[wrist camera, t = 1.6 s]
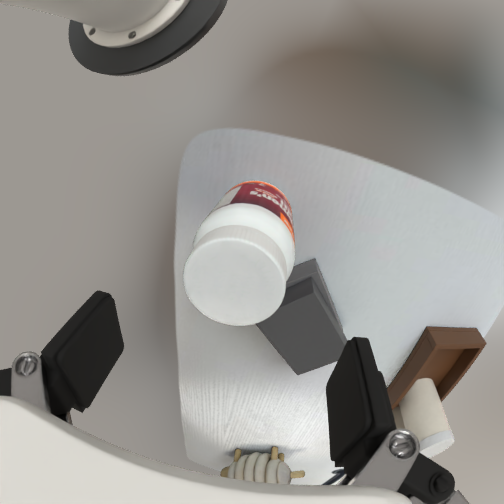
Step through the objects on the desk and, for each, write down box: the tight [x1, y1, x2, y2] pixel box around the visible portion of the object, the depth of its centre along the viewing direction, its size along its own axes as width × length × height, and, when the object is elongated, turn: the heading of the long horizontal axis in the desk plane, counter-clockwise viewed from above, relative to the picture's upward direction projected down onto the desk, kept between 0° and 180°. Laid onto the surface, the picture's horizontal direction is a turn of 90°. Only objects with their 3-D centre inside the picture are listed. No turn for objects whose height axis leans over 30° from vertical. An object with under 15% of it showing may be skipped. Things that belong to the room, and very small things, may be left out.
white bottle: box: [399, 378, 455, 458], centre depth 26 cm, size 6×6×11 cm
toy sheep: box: [221, 447, 305, 484], centre depth 39 cm, size 11×17×11 cm, turn 116°
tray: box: [387, 327, 486, 410], centre depth 31 cm, size 28×10×3 cm, turn 173°
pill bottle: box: [183, 180, 295, 326], centre depth 18 cm, size 6×6×11 cm
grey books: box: [256, 259, 347, 375], centre depth 25 cm, size 9×6×5 cm
